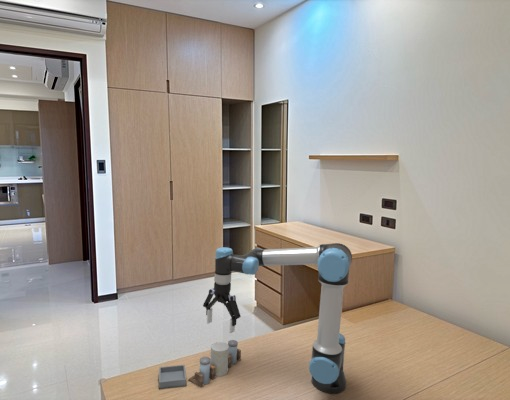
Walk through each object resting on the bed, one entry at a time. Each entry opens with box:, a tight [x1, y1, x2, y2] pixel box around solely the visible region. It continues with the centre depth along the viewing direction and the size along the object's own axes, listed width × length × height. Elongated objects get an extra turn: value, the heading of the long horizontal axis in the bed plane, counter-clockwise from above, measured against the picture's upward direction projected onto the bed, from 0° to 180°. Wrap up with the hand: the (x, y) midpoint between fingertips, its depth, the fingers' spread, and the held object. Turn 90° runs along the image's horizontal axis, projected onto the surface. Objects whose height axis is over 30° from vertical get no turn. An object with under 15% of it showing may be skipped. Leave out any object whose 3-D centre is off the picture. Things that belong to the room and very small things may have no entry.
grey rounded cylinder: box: [199, 356, 211, 385], centre depth 153 cm, size 5×5×10 cm
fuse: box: [227, 339, 238, 366], centre depth 169 cm, size 5×5×10 cm
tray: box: [158, 364, 187, 390], centre depth 153 cm, size 11×11×3 cm
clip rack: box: [187, 348, 242, 388], centre depth 162 cm, size 8×28×5 cm, turn 145°
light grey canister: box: [209, 341, 229, 377], centre depth 161 cm, size 8×8×12 cm
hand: (220, 327), depth 159 cm, fingers open, 13 cm apart
